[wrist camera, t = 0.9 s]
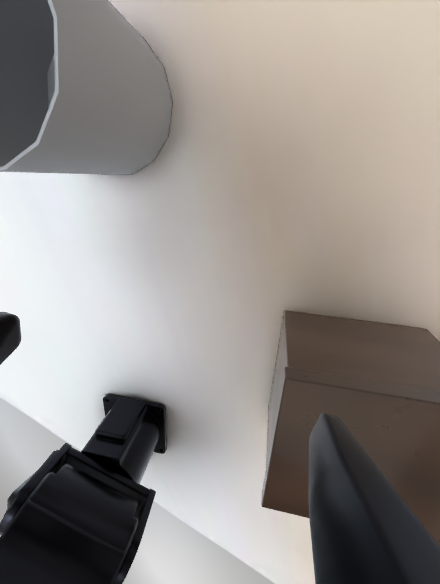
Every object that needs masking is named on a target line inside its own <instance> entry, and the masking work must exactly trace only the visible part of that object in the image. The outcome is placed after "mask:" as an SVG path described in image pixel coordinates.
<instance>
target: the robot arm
mask: <svg viewBox="0 0 440 584" xmlns="http://www.w3.org/2000/svg"><path fill="white" fill-rule="evenodd" d="M20 342H21V331H20V320H19V318H18V317H17V316H16V315H13V314H10V313H7V312H0V364H1V363H2V362H3V361H4V360H5V359H6V358H7V357H8V356H9V355H10V354H11V353H12V352H13V351H14V350H15V349H16V348H17V347H18V346H19V344H20ZM103 403H104V410H105V418H104V419H103V421H102V422H101V423H100V425H99V426H98V428H97V429H96V431H95V433H94V434H93V436H92V437H91V439H90V440H89V441H88V443H87V444H86V446H85V447H84V448H83V450H82V451H81V452H80V451H78V450H76V449H74V448H72V447H71V445H69V444H68V443H65V444H64V445H63V447H62V448H61V449H60V450H57V451H54V452H53V453H52V454H51V455H50V456H49V458H48V459H47V460H46V461H45V463H44V464H43V465H42V466H41V467H40V468H39V470H37V471H36V472H35V473H34V474H33V475H32V476H31V477H30V478H29V479H27V480H26V481H25V482H24V483H23V484H22V485H21V486H19V487H18V488H17V489H16V490H15V491H14V492H13V493H12V494H11V496H10V497H9V498H8V504H7V506H8V509H7V511H6V513H5V515H4V517H3V519H2V521H1V523H0V535H2V536H1V537H0V584H122V583H123V581H124V579H125V577H126V575H127V573H128V571H129V569H130V567H131V564H132V562H133V560H134V557H135V555H136V553H137V550H138V547H139V544H140V541H141V538H142V535H143V532H144V529H145V526H146V522H147V519H148V516H149V513H150V509H151V506H152V503H153V500H154V497H155V493H156V491H154V490H152V489H150V490H149V489H148V488H146V487H144V486H142V485H140V484H139V483H140V481H141V479H142V477H143V474H144V472H145V470H146V468H147V466H148V463H149V461H150V459H151V457H152V454H153V452H156V453H161V454H164V453H165V452H166V449H167V435H166V408H165V406H164V405H162V404H158V403H153V402H147V401H142V400H137V399H132V398H127V397H122V396H116V395H111V394H106V395H105V397H104V398H103ZM308 495H309V516H310V527H311V539H312V550H313V561H314V572H315V583H316V584H440V546H439V545H438V544H437V543H436V541H435V540H434V539H433V537H432V536H431V535H430V534H429V532H428V531H427V530H426V528H425V527H424V526H423V525H422V523H421V522H420V521H419V519H418V518H417V517H416V516H415V514H414V513H413V512H412V510H411V509H410V508H409V507H408V505H407V504H406V503H405V501H404V500H403V499H402V498H401V496H400V495H399V494H398V492H397V491H396V490H395V489H394V487H393V486H392V485H391V484H390V482H389V481H388V480H387V478H386V477H385V476H384V475H383V473H382V472H381V471H380V469H379V468H378V467H377V466H376V464H375V463H374V462H373V460H372V459H371V458H370V457H369V455H368V454H367V453H366V451H365V450H364V449H363V448H362V446H361V445H360V444H359V442H358V441H357V440H356V439H355V437H354V436H353V435H352V434H351V432H350V431H349V430H348V428H347V427H346V426H345V425H344V423H343V422H342V421H341V419H340V418H339V417H337V416H335V415H331V414H328V413H322V414H321V415H320V416H319V418H318V420H317V422H316V424H315V426H314V428H313V430H312V432H311V434H310V438H309V490H308Z"/></svg>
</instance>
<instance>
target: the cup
mask: <svg viewBox="0 0 440 584" xmlns="http://www.w3.org/2000/svg"><path fill="white" fill-rule="evenodd" d="M172 104H173V102H172V98H171V94H170V90H169V85H168V81H167V77H166V73H165V69H164V66H163V65H162V63H161V62H160V61H159V59H158V58H157V56H156V55H155V54H154V52H153V51H152V49H151V48H150V46H149V45H148V44H147V42H146V41H145V39H144V38H143V37H142V36H141V35H140V34H139V33H138V32H137V31H136V29H135V28H134V27H133V26H132V25H131V24H130V23H129V22H128V21H127V20H126V19H125V18H124V17H123V16H122V15H121V14H120V12H119V11H118V10H117V9H116V8H115V7H114V6H113V5H112V4H111V3H110V2H109V1H108V0H0V172H36V173H73V174H133V173H135V172H137V171H138V170H140V169H142V168H143V167H145V166H147V165H148V164H150V163H152V162H153V161H154V160H155V158H156V156H157V155H158V153H159V151H160V150H161V148H162V146H163V145H164V143H165V141H166V139H167V138H168V136H169V128H170V120H171V112H172Z"/></svg>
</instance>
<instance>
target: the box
mask: <svg viewBox="0 0 440 584" xmlns="http://www.w3.org/2000/svg"><path fill="white" fill-rule="evenodd" d="M322 413H328V414H331V415H335V416H337V417H339V418H340V419H341V421H342V422H343V423H344V425H345V426H346V427H347V428H348V430H349V431H350V432H351V434H352V435H353V436H354V437H355V439H356V440H357V441H358V442H359V444H360V445H361V446H362V448H363V449H364V450H365V451H366V453H367V454H368V455H369V457H370V458H371V459H372V460H373V462H374V463H375V464H376V466H377V467H378V468H379V469H380V471H381V472H382V473H383V475H384V476H385V477H386V478H387V480H388V481H389V482H390V484H391V485H392V486H393V487H394V489H395V490H396V491H397V492H398V494H399V495H400V496H401V498H402V499H403V500H404V501H405V503H406V504H407V505H408V507H409V508H410V509H411V510H412V512H413V513H414V514H415V516H416V517H417V518H418V519H419V521H420V522H421V523H422V525H423V526H424V527H425V528H426V530H427V531H428V532H429V534H430V535H431V536H432V537H433V539H434V540H435V541H436V543H437V544H438V545H439V546H440V342H439V341H438V340H437V339H436V338H435V337H434V336H433V335H432V334H431V333H430V332H429V331H428V330H427V329H422V328H414V327H406V326H399V325H391V324H384V323H376V322H368V321H361V320H353V319H345V318H338V317H330V316H322V315H315V314H307V313H299V312H292V311H284V316H283V322H282V328H281V334H280V340H279V346H278V352H277V359H276V365H275V371H274V377H273V383H272V389H271V395H270V401H269V408H268V432H267V459H266V472H265V478H264V484H263V489H262V503H261V505H262V507H265V508H269V509H273V510H278V511H282V512H286V513H290V514H294V515H299V516H303V517H307V518H310V516H309V495H308V490H309V438H310V434H311V432H312V430H313V428H314V426H315V424H316V422H317V420H318V418H319V416H320V415H321V414H322Z"/></svg>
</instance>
